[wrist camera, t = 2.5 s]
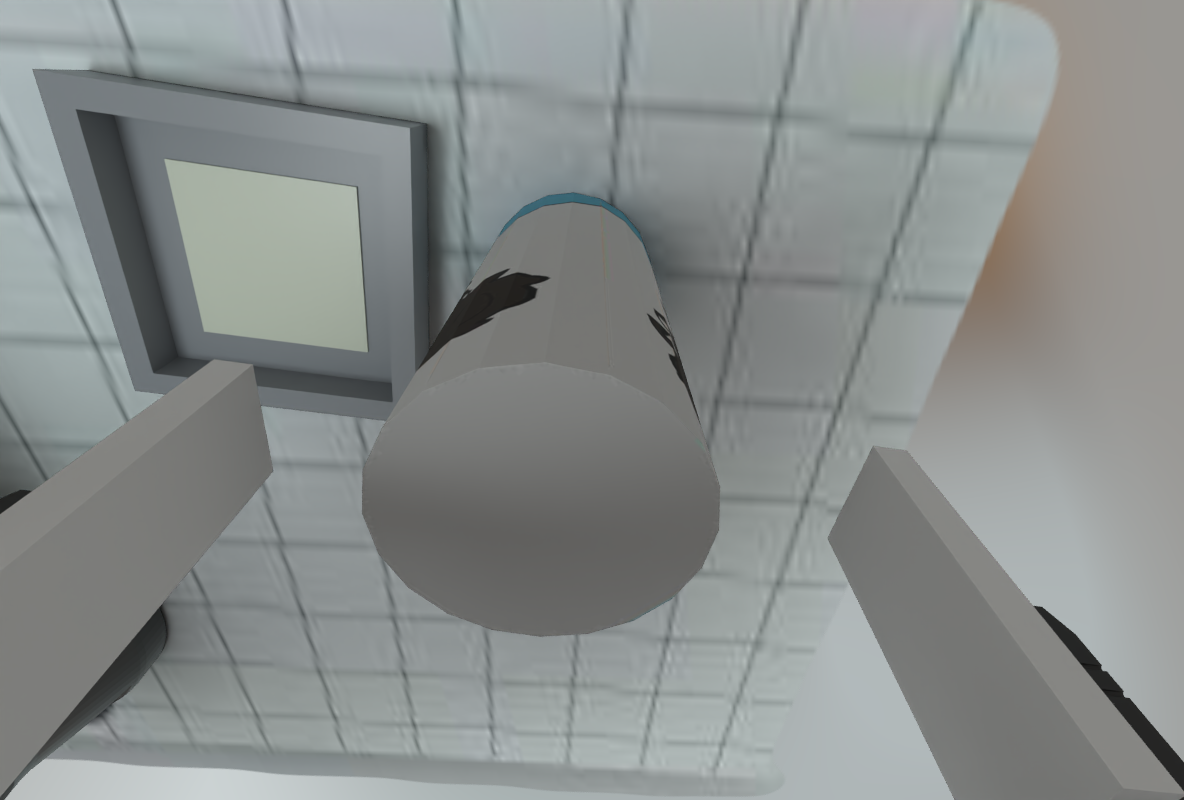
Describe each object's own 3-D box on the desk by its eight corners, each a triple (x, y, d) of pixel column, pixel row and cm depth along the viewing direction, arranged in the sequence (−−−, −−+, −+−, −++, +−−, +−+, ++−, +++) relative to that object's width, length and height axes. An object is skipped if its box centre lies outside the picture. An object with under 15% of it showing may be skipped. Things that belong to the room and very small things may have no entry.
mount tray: (169, 367, 26) (134, 390, 24) (86, 70, 20) (32, 69, 18) (429, 399, 26) (416, 424, 24) (427, 123, 20) (410, 128, 18)
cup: (460, 286, 24) (298, 539, 11) (556, 154, 21) (495, 276, 8) (582, 374, 26) (571, 674, 13) (683, 265, 23) (798, 503, 10)
